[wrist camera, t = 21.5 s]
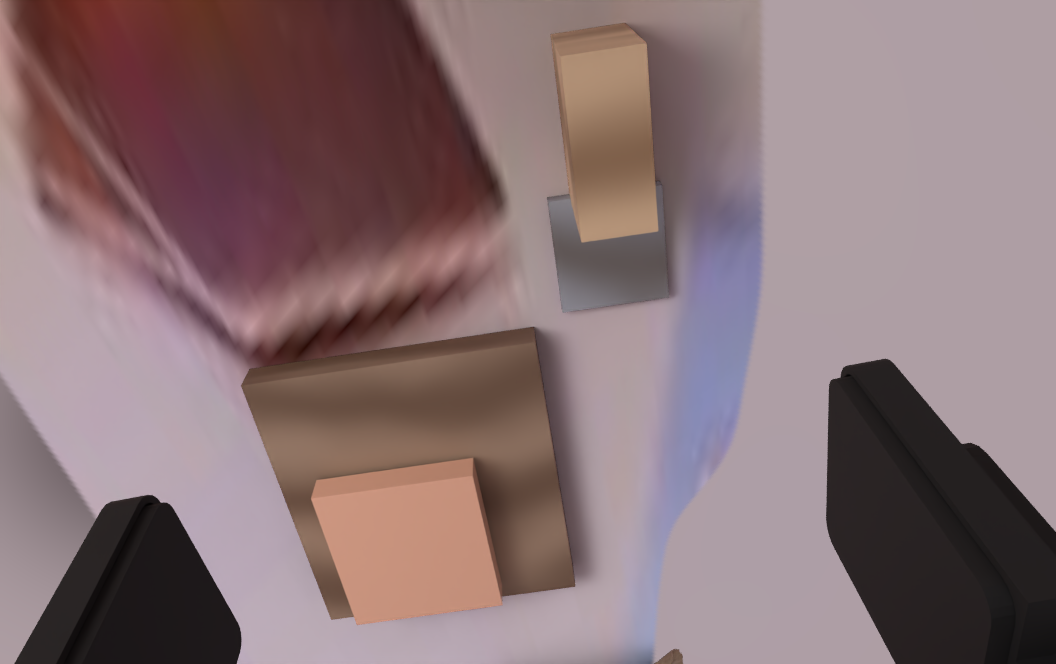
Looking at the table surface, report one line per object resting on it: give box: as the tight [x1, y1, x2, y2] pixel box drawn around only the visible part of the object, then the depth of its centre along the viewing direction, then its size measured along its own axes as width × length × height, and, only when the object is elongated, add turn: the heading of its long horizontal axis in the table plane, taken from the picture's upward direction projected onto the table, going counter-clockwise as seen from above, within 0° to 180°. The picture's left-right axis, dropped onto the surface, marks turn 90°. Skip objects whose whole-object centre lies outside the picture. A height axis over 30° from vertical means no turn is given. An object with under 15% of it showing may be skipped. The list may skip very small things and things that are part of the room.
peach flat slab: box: [311, 458, 502, 625], centre depth 41 cm, size 2×8×9 cm
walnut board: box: [241, 327, 575, 620], centre depth 41 cm, size 16×14×2 cm
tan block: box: [547, 23, 669, 313], centre depth 32 cm, size 12×5×5 cm, turn 8°
